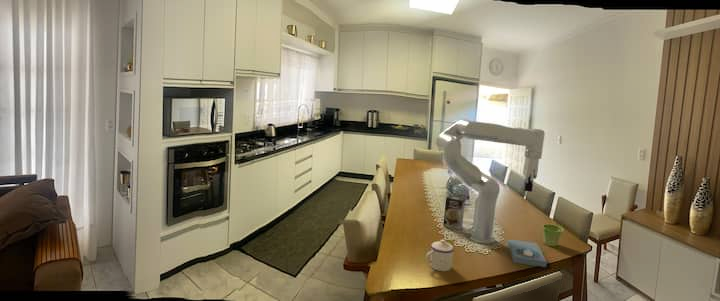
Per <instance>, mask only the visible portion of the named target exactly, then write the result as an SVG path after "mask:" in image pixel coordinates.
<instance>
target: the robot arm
mask: <svg viewBox="0 0 720 301" xmlns="http://www.w3.org/2000/svg"><path fill="white" fill-rule="evenodd" d="M545 134H546V133H545V130H543V129H541V128H540V129H539V128H538V129H537V128H523V127H515V128H514V127H509V126H505V125H501V124H497V123H489V122H483V121H482V122H480V121H475V120H469V119H461V120H459V121H457V122H455V123H454V124H452V125H451V126H450V127H448V128H446V129H445V130H444V131H442V132H441V133H440V134H439V135H438V136H437V138H436V140H435V142H436V143H435V144H436V146H437V147H438V149H439V150H441V151H442V152H443V160H444V164H445V165H446V167H447V168H448V169H449V171H452V172H453V173H454V174H455V176H456V177H457V178H458V179H459V180H461V181H462V182H463V183H464V184H466V185H467V186H468V187H470V188H471V189H472V190H474V191H475V192H477V193H478V194H477V197H476V199H475V204H474V211H473V212H474V213H473V223H472V226H471V228H467V227H462V232H463V233H465V234H466V235H468V238H469V240H471V241H473V242H475V243H479V244H485V245H488V244H489V245H490V244H494V242H496V238H495V236H493V232H494V224H495V215H496V214H495V213H496V209H497V208H496V206H497V202H498V197H499V194H500V190H501V189H500V188H501V186H500V184H499V182H498V181H497V180H496V179H495V178H494V177H492V176H489V175H488V174H486V173H484V172H483V171H481V170H480V168H479V167H478V166H477V165H476V164H474V163H472V162H470V161H469V160H468V159H467V158H466V157H464V156H463V155H462V142H461V140H462V139H464V138H465V139H468V140H475V141H485V142H492V143H498V144H499V143H500V144H509V145H515V146H522V147H523V146H524V147H525V150H524V164H523V165H524V166H523V170H522V176H524V178H525V183H524V191H525V192H533V186H534V180H535V179H537V177H538V171H539V163H540V162H539V160H541V159H542V156H543V147H544V142H545Z"/></svg>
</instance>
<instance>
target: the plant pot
mask: <svg viewBox="0 0 720 301" xmlns="http://www.w3.org/2000/svg"><path fill="white" fill-rule="evenodd" d="M541 225H542V226H541V227H542V231H543V233H542V234H543V235H542V236H543V244H545V245H546V246H550V247H557V246H558V244H559V241H560V238H561V235H562V234H563V232H564V231H565V230H564V228H563V227H561V226H559V225H556V224H551V223H545V224H541Z"/></svg>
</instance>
